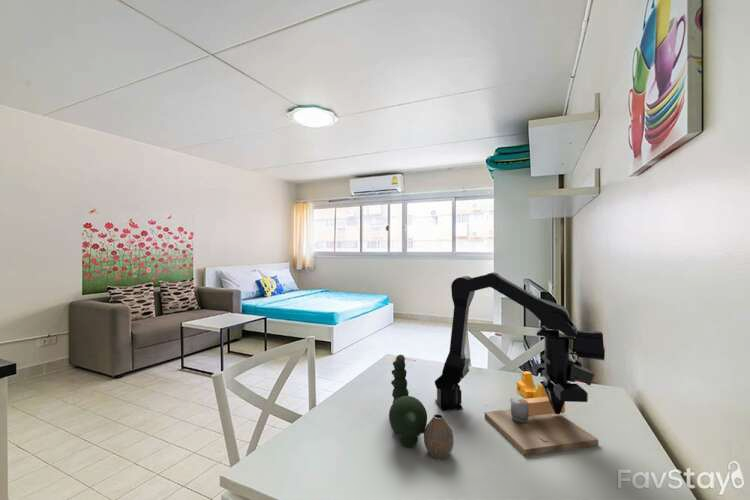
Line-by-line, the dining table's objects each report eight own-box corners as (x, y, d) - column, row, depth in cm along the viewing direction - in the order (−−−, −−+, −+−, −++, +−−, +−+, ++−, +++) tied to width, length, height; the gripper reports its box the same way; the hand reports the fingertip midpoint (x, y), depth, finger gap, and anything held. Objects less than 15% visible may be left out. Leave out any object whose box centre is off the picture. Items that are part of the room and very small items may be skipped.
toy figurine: (383, 416, 99) (392, 461, 75) (382, 351, 101) (391, 374, 76) (415, 415, 100) (434, 460, 75) (413, 350, 102) (432, 373, 77)
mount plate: (524, 455, 77) (524, 444, 77) (484, 417, 95) (484, 407, 95) (598, 445, 81) (598, 434, 81) (546, 410, 99) (546, 401, 99)
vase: (455, 447, 81) (454, 411, 81) (452, 465, 74) (451, 426, 74) (426, 442, 83) (426, 407, 83) (421, 459, 76) (421, 421, 76)
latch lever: (517, 419, 88) (517, 406, 88) (507, 411, 92) (507, 398, 92) (569, 413, 91) (569, 400, 91) (557, 406, 95) (557, 393, 95)
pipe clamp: (516, 390, 113) (516, 371, 113) (529, 390, 113) (528, 371, 113) (536, 407, 101) (536, 386, 101) (550, 407, 101) (549, 385, 101)
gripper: (611, 367, 77) (611, 434, 77) (571, 344, 96) (571, 398, 96) (561, 366, 78) (561, 432, 78) (531, 343, 97) (531, 397, 97)
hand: (557, 413), depth 87 cm, fingers closed
